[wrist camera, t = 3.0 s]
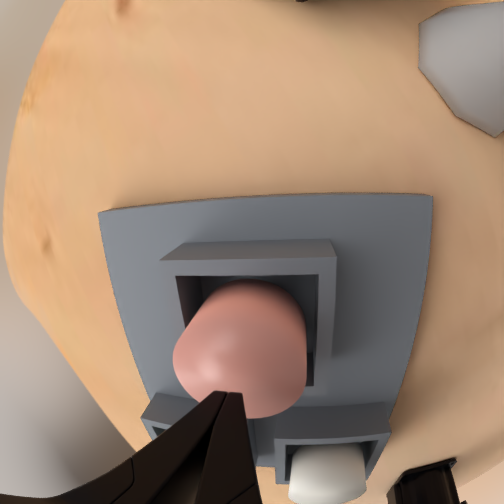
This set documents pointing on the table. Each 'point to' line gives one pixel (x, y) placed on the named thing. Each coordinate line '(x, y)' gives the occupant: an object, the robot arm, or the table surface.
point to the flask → (467, 61)
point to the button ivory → (327, 474)
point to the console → (297, 285)
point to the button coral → (246, 347)
